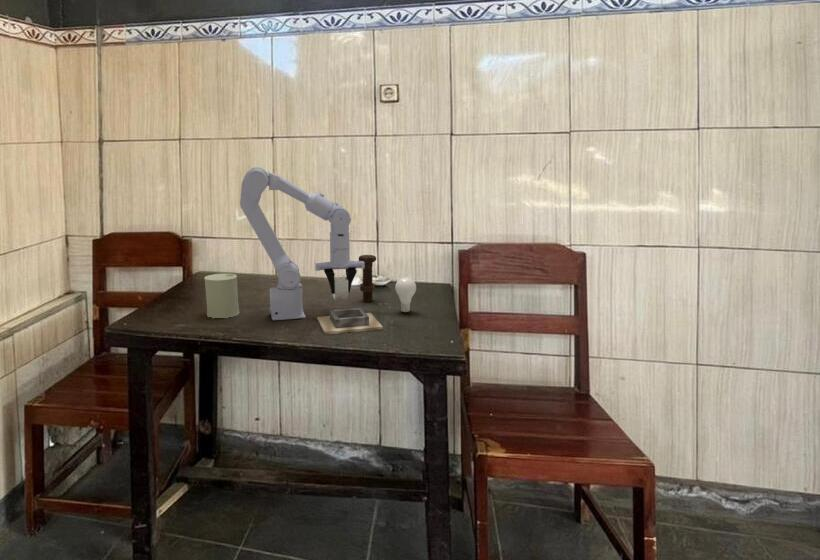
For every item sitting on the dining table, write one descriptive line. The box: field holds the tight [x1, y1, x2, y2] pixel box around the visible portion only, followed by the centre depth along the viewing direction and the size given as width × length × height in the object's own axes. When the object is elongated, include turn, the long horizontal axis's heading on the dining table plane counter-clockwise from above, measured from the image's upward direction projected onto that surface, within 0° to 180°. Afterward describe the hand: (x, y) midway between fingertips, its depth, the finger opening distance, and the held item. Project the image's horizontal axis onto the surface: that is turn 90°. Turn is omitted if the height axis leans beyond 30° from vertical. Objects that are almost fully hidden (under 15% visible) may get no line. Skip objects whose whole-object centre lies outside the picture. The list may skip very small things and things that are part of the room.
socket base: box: [316, 307, 384, 336], centre depth 152 cm, size 16×14×3 cm
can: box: [204, 273, 240, 319], centre depth 159 cm, size 9×9×12 cm
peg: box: [332, 276, 349, 301], centre depth 162 cm, size 4×4×6 cm
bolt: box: [358, 254, 377, 303], centre depth 175 cm, size 6×5×15 cm
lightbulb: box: [394, 276, 417, 314], centre depth 163 cm, size 6×6×11 cm
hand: (340, 292), depth 162 cm, fingers closed on peg, 4 cm apart
